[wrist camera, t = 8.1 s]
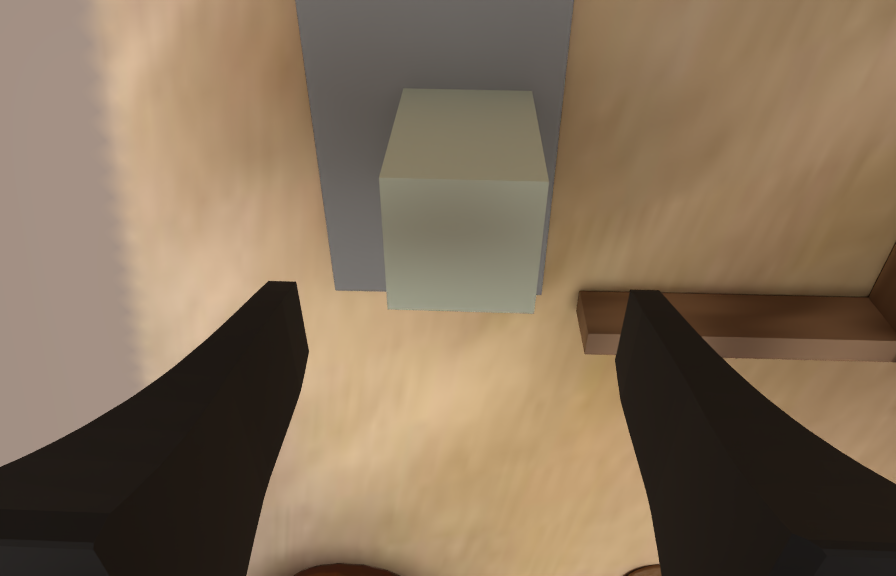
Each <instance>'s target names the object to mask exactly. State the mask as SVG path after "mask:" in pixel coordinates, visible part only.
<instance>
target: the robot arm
mask: <svg viewBox="0 0 896 576" xmlns="http://www.w3.org/2000/svg"><path fill="white" fill-rule="evenodd" d="M308 353H309V349H308V344H307V338H306V333H305V328H304V322H303V317H302V311H301V306H300V300H299V295H298V290H297V284H296V282H286V281H268V282H267V283H266V284H265V285H264V286H263V287H262V288H261V289H259V290H258V291H257V292H256V293H255V294H254V295H253V296H252V297H251V298H250V299H249V300H248V301H247V302H246V303H245V304H244V305H243V306H242V307H241V308H240V309H239V310H238V311H237V312H235V313H234V314H233V315H232V316H231V317H230V318H229V319H228V320H227V321H226V322H225V323H224V324H223V325H222V326H221V327H220V328H218V329H217V330H216V331H215V332H214V333H213V334H212V335H211V336H210V337H209V338H208V339H206V340H205V341H204V342H203V343H202V344H201V345H199V346H198V347H197V348H196V349H195V350H193V351H192V352H191V353H190V354H189V355H187V356H186V357H185V358H184V359H183V360H181V361H180V362H179V363H178V364H177V365H176V366H174V367H173V368H172V369H170V370H169V371H168V372H166V373H165V374H164V375H162V376H161V377H160V378H158V379H157V380H156V381H154V382H153V383H151V384H150V385H148V386H147V387H146V388H144V389H143V390H141V391H140V392H138V393H137V394H136V395H134V396H133V397H131V398H130V399H128V400H127V401H125V402H123V403H122V404H120V405H119V406H117V407H115V408H113V409H112V410H110V411H108V412H107V413H105V414H103V415H102V416H100V417H98V418H97V419H95V420H94V421H92V422H90V423H88V424H87V425H85V426H83V427H81V428H79V429H78V430H76V431H74V432H72V433H70V434H68V435H66V436H65V437H63V438H61V439H59V440H57V441H55V442H53V443H51V444H49V445H47V446H45V447H43V448H41V449H39V450H37V451H35V452H33V453H30V454H28V455H26V456H24V457H22V458H20V459H18V460H15V461H13V462H11V463H8V464H6V465H4V466H2V467H0V576H246V575H247V570H248V565H249V561H250V556H251V552H252V547H253V543H254V538H255V534H256V530H257V525H258V521H259V517H260V513H261V509H262V505H263V500H264V496H265V493H266V490H267V487H268V483H269V480H270V477H271V474H272V471H273V468H274V466H275V463H276V460H277V457H278V454H279V452H280V449H281V446H282V443H283V440H284V438H285V435H286V432H287V429H288V427H289V424H290V421H291V418H292V415H293V412H294V409H295V407H296V404H297V401H298V398H299V395H300V392H301V387H302V383H303V378H304V374H305V369H306V364H307V359H308ZM615 363H616V371H617V379H618V386H619V392H620V399H621V404H622V407H623V411H624V415H625V418H626V422H627V426H628V429H629V433H630V436H631V440H632V443H633V447H634V450H635V454H636V457H637V461H638V464H639V468H640V471H641V475H642V478H643V482H644V485H645V489H646V493H647V497H648V501H649V505H650V510H651V515H652V521H653V527H654V532H655V538H656V544H657V550H658V556H659V563H660V569H661V576H896V484H894V483H893V482H891V481H889V480H888V479H886V478H884V477H882V476H881V475H879V474H877V473H875V472H874V471H872V470H870V469H868V468H867V467H865V466H863V465H862V464H860V463H858V462H857V461H855V460H853V459H852V458H850V457H849V456H847V455H845V454H844V453H842V452H840V451H839V450H837V449H836V448H834V447H833V446H831V445H830V444H828V443H827V442H826V441H824V440H823V439H821V438H820V437H818V436H817V435H815V434H814V433H812V432H811V431H809V430H808V429H806V428H805V427H804V426H802V425H801V424H799V423H798V422H797V421H795V420H794V419H793V418H791V417H790V416H789V415H787V414H786V413H785V412H784V411H782V410H781V409H780V408H779V407H777V406H776V405H775V404H773V403H772V402H771V401H770V400H768V399H767V398H766V397H765V396H763V395H762V394H761V393H760V392H759V391H758V390H756V389H755V388H754V387H753V386H752V385H751V384H750V383H748V382H747V381H746V380H745V379H744V378H743V377H742V376H741V375H740V374H739V373H737V372H736V371H735V370H734V369H733V368H732V367H731V366H730V365H729V364H728V363H727V362H726V361H725V360H724V359H723V358H722V357H721V356H720V355H719V354H718V353H717V352H716V351H715V350H714V349H713V348H712V347H711V346H710V345H709V344H708V343H707V342H706V341H705V340H704V339H703V338H702V337H701V336H700V335H699V334H698V333H697V332H696V330H695V329H694V328H693V327H692V326H691V325H690V324H689V323H688V322H687V321H686V319H685V318H684V317H683V316H682V315H681V314H680V313H679V312H678V311H677V310H676V308H675V307H674V306H673V305H672V304H671V303H670V302H669V301H668V299H667V298H666V297H665V296H664V295H663V294H662V293H661V292H660V291H659V290H630V293H629V298H628V303H627V307H626V312H625V316H624V321H623V326H622V330H621V335H620V340H619V344H618V349H617V353H616V358H615Z"/></svg>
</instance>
